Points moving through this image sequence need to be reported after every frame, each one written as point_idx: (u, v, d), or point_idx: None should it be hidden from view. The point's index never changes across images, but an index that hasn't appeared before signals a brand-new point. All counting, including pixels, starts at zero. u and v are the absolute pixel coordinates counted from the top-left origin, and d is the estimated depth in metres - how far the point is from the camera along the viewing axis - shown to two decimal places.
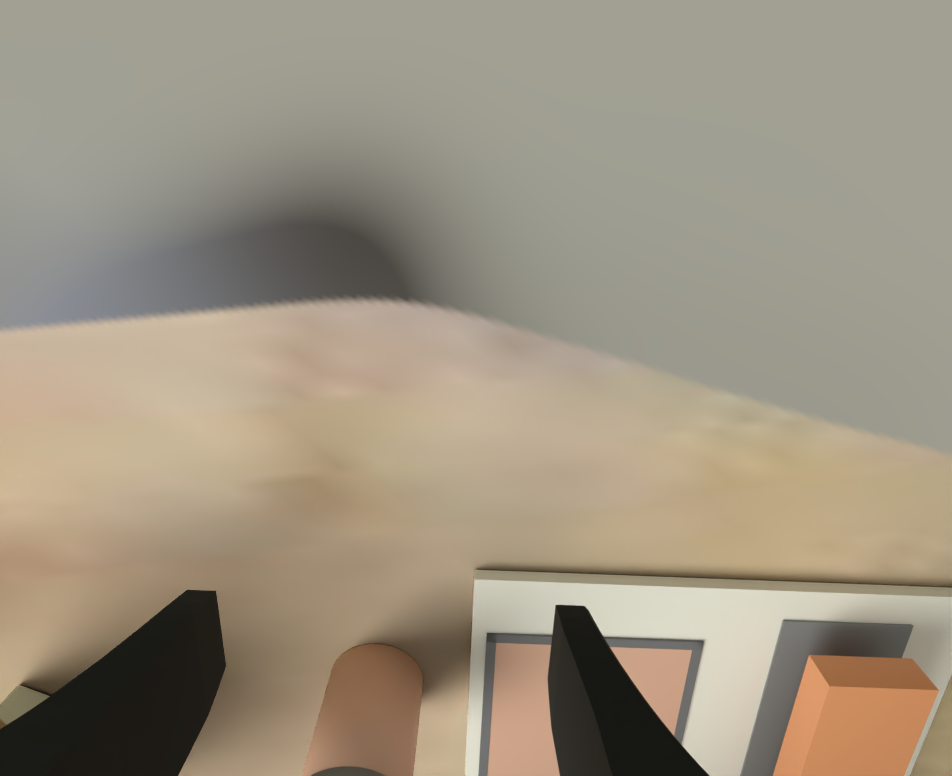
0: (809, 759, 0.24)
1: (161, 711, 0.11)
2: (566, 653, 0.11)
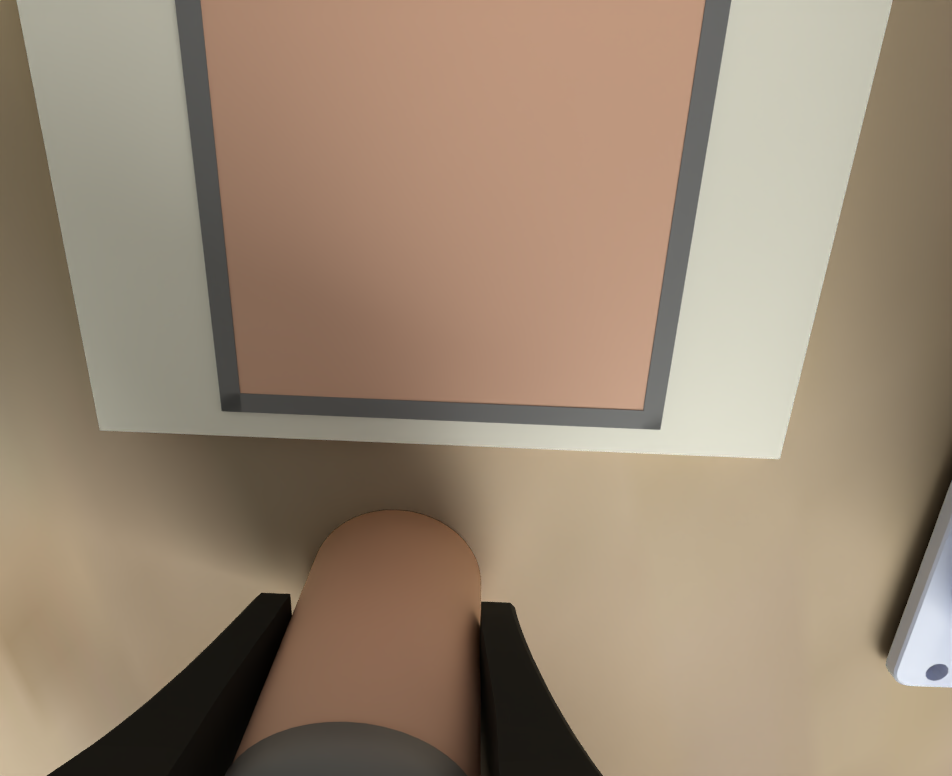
0: None
1: (248, 715, 0.11)
2: (483, 650, 0.11)
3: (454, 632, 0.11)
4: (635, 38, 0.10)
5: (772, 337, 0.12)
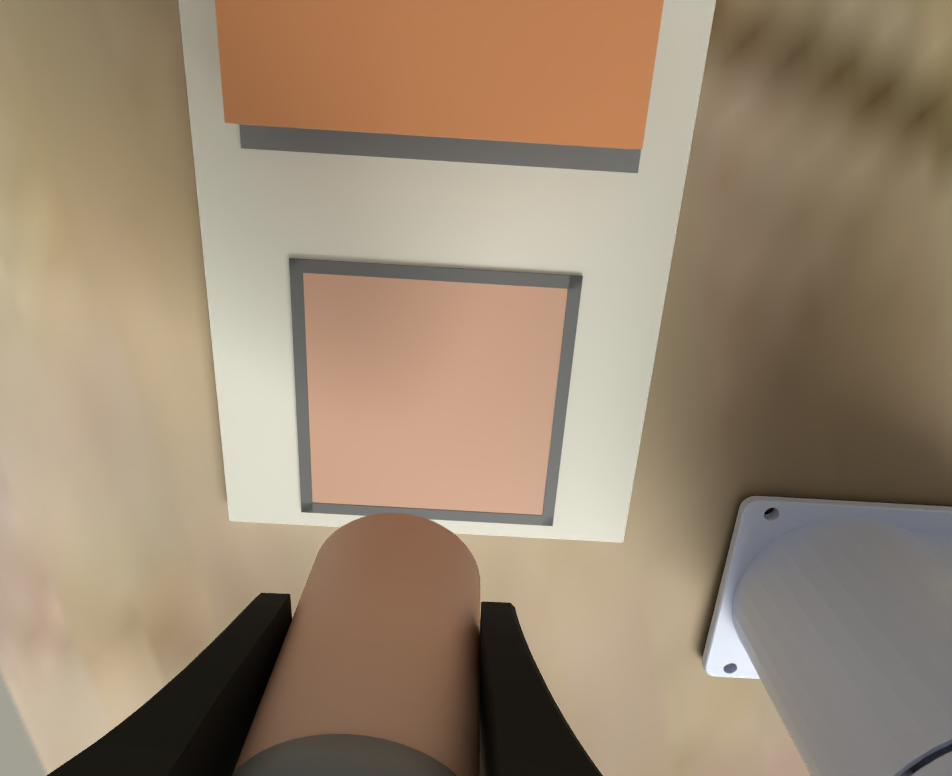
0: (379, 125, 0.15)
1: (248, 715, 0.11)
2: (483, 650, 0.11)
3: (454, 639, 0.11)
4: (530, 333, 0.19)
5: (613, 477, 0.21)
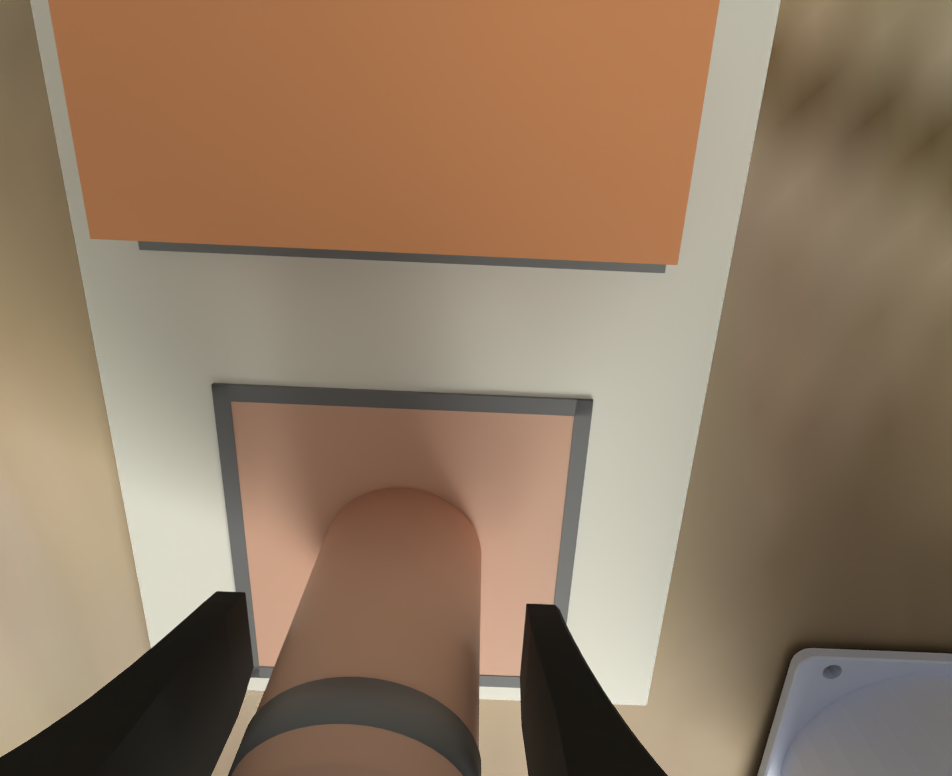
0: (308, 239, 0.10)
1: (195, 713, 0.11)
2: (534, 652, 0.11)
3: (456, 601, 0.12)
4: (526, 469, 0.15)
5: (634, 633, 0.17)
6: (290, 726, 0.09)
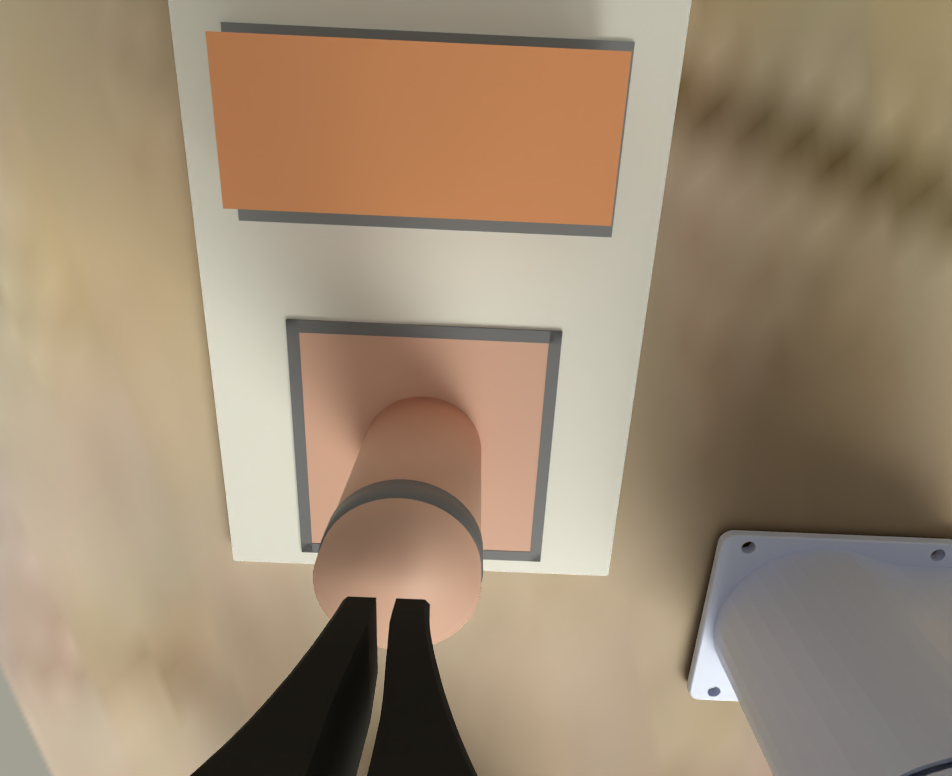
0: (366, 208, 0.16)
1: (349, 719, 0.11)
2: None
3: (464, 458, 0.18)
4: (514, 384, 0.20)
5: (596, 516, 0.22)
6: (363, 501, 0.15)
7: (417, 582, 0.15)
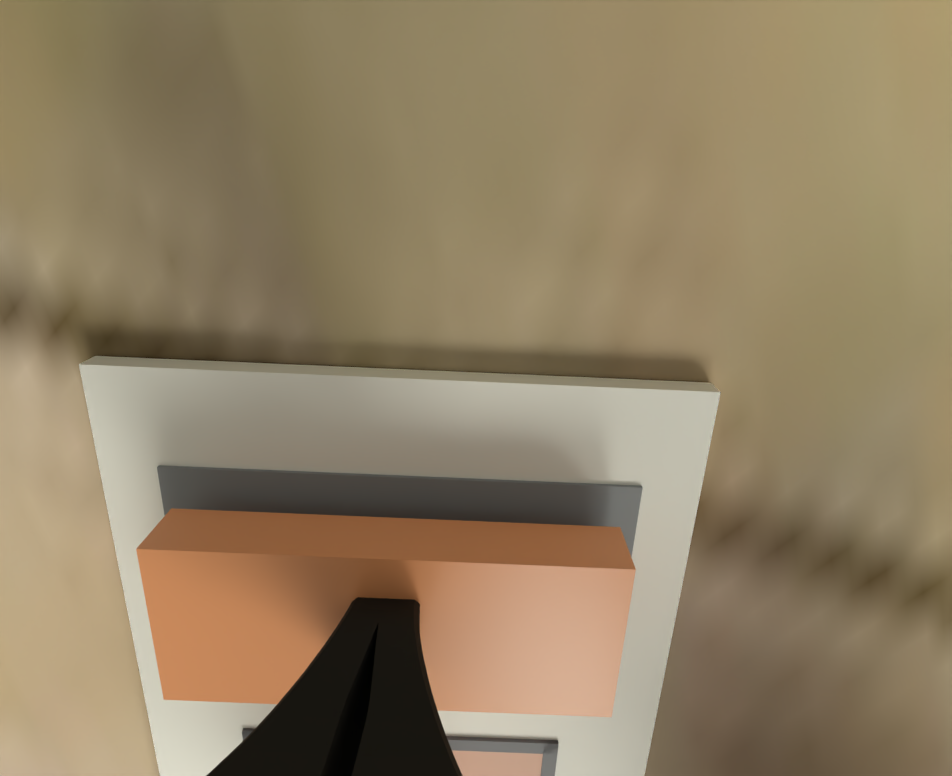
0: None
1: (361, 719, 0.11)
2: None
3: None
4: None
5: None
6: None
7: None
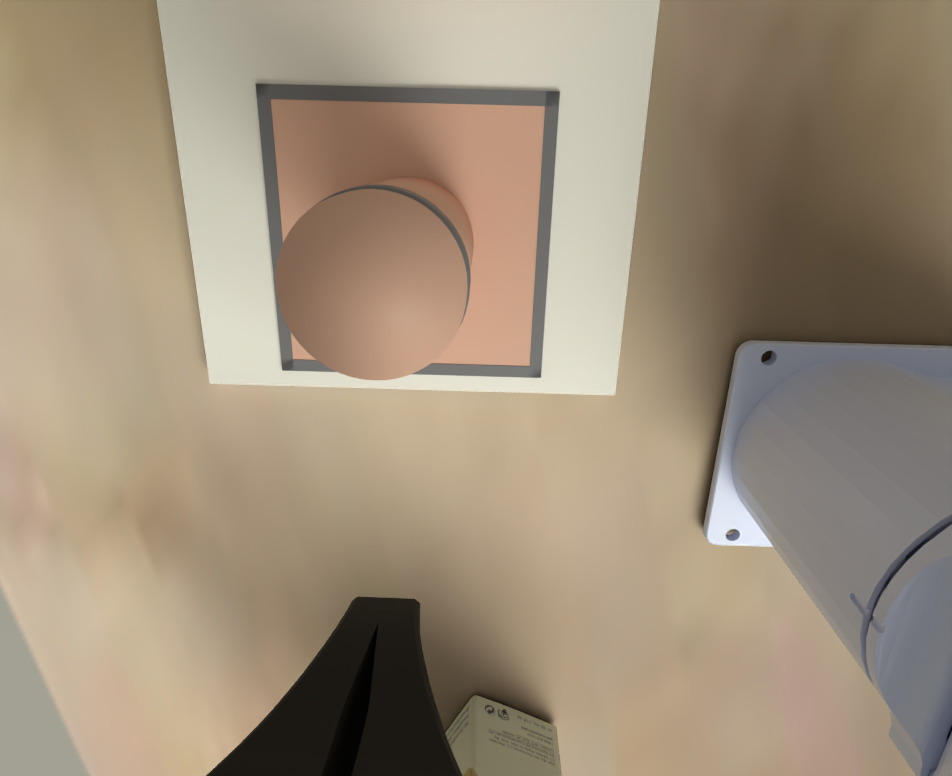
0: None
1: (360, 719, 0.11)
2: None
3: (451, 208, 0.16)
4: (508, 160, 0.19)
5: (601, 321, 0.20)
6: (331, 196, 0.13)
7: (394, 288, 0.13)
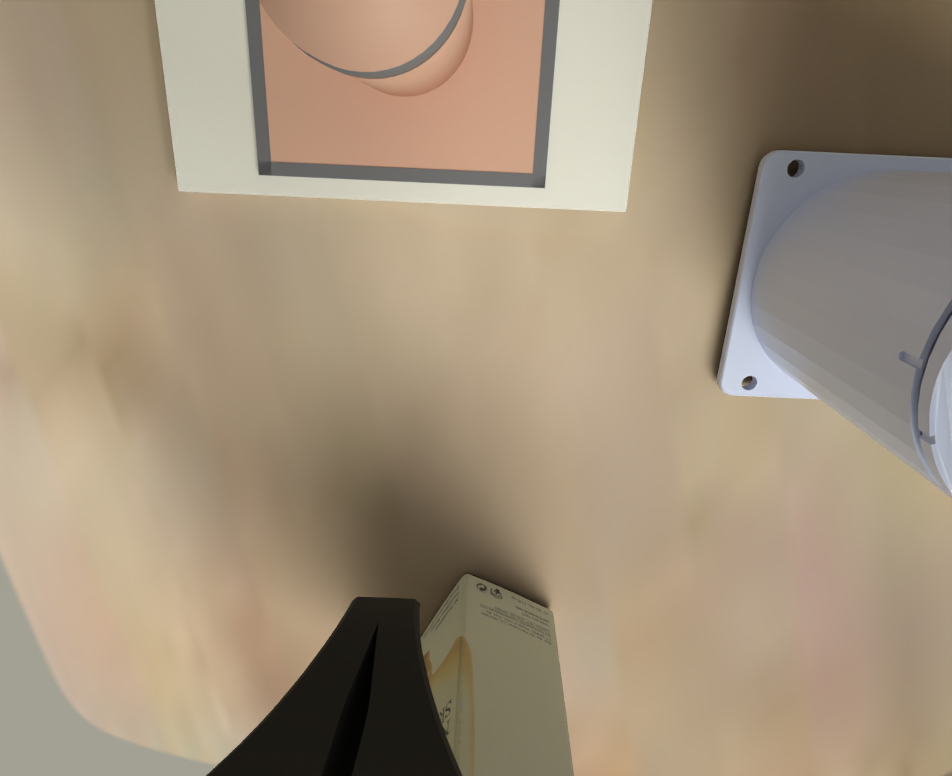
0: None
1: (361, 719, 0.11)
2: None
3: None
4: None
5: (613, 121, 0.18)
6: None
7: None
